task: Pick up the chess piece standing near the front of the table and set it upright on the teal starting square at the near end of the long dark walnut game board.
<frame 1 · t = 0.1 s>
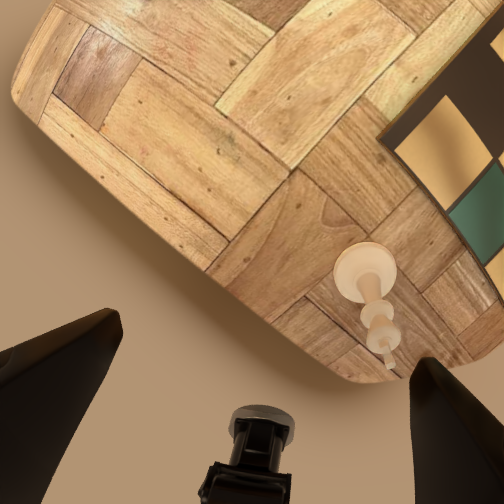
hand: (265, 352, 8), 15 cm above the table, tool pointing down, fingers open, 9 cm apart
chess piece: (364, 270, 22), on the table
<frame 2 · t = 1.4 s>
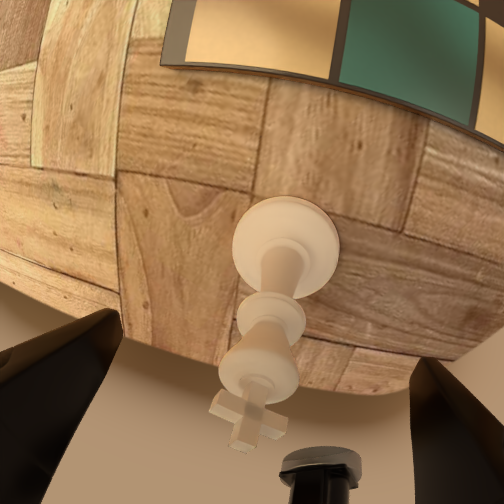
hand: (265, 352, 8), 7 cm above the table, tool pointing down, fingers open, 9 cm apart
chess piece: (286, 246, 14), on the table
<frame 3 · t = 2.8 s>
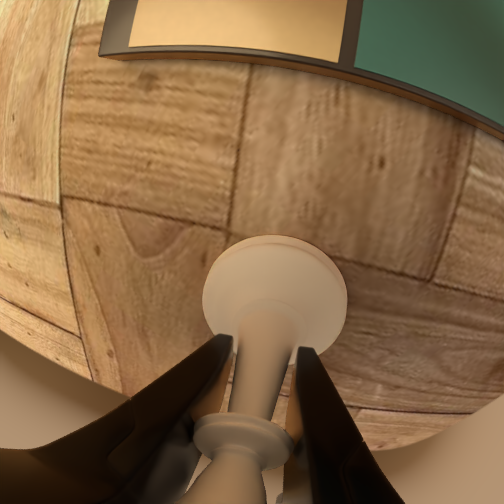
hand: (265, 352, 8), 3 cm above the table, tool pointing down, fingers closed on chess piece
chess piece: (275, 298, 11), on the table, touching gripper
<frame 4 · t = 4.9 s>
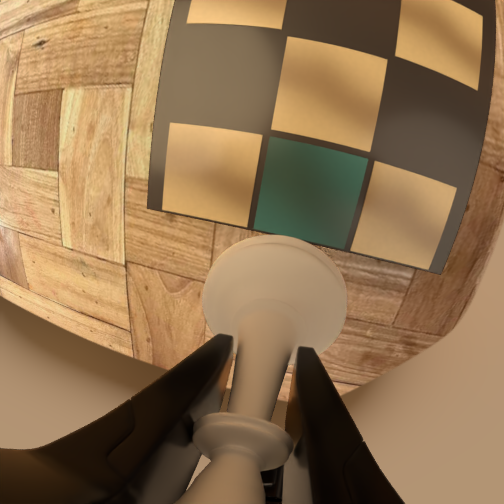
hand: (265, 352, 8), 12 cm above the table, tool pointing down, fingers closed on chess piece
chess piece: (275, 298, 11), point 10 cm above the table, touching gripper
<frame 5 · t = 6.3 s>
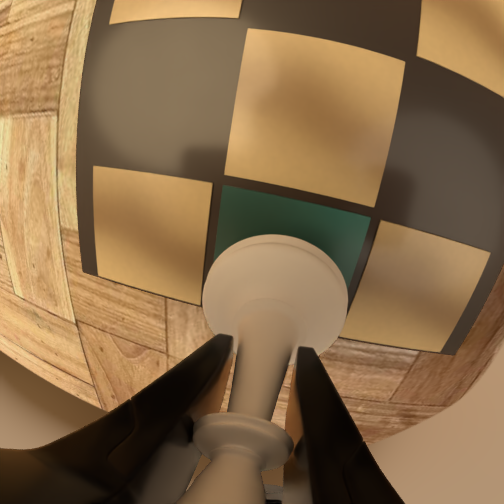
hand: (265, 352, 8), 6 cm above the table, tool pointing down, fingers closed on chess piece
chess piece: (276, 298, 11), point 3 cm above the table, touching gripper
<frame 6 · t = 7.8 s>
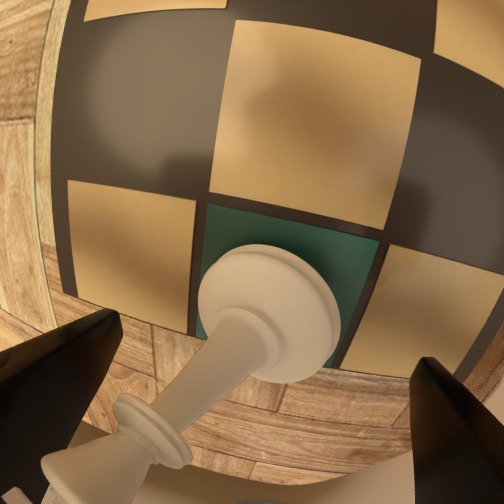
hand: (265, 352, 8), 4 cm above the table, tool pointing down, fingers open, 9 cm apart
chess piece: (271, 312, 10), point 2 cm above the table, touching game board
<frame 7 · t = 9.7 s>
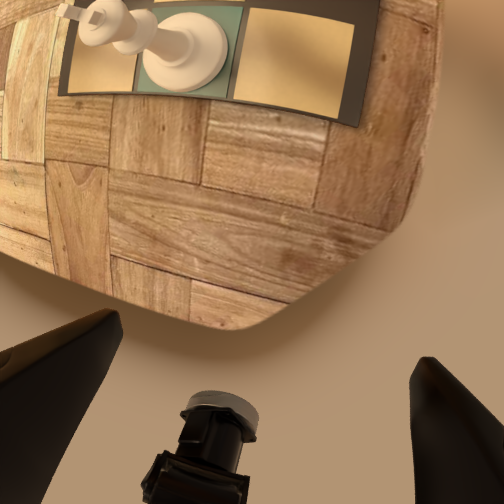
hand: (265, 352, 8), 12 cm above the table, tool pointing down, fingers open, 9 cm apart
chess piece: (186, 52, 14), point 1 cm above the table, touching game board
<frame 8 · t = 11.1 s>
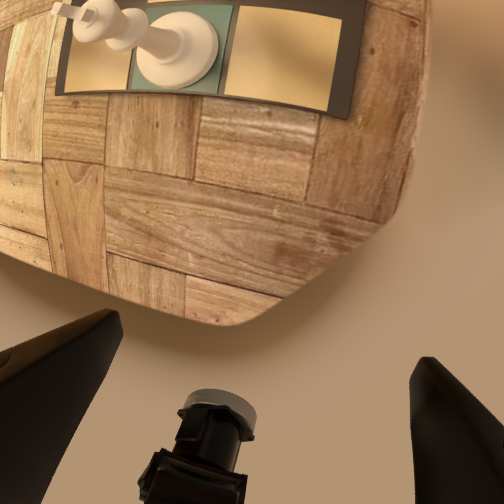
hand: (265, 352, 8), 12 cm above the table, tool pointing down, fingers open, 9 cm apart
chess piece: (178, 50, 15), point 1 cm above the table, touching game board
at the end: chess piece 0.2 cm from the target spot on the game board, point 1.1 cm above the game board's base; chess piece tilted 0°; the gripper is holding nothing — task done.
